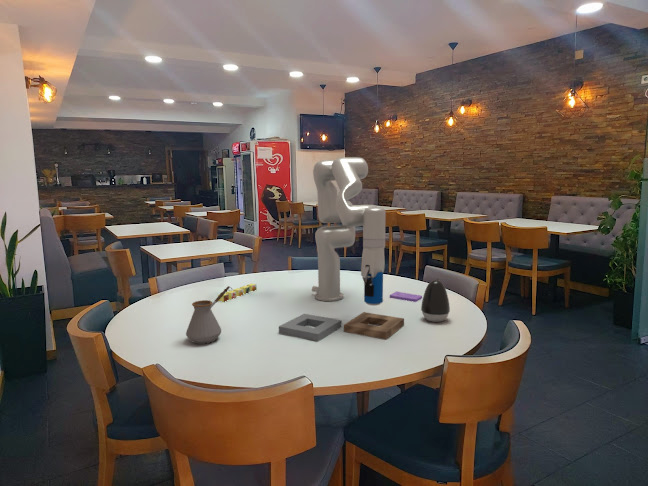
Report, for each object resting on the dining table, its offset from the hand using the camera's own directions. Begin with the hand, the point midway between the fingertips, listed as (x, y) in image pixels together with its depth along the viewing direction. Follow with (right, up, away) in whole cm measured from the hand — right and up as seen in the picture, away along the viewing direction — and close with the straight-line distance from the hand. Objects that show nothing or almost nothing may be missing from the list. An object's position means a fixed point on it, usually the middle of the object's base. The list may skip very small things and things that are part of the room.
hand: (373, 293), depth 158 cm
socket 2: (0, -13, +1) cm, 13 cm away
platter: (-54, -7, +48) cm, 73 cm away
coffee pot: (-55, -14, -2) cm, 57 cm away
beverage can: (0, -4, +1) cm, 4 cm away
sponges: (+18, -7, +39) cm, 44 cm away
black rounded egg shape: (+24, -11, +9) cm, 28 cm away
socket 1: (-22, -13, +1) cm, 26 cm away
